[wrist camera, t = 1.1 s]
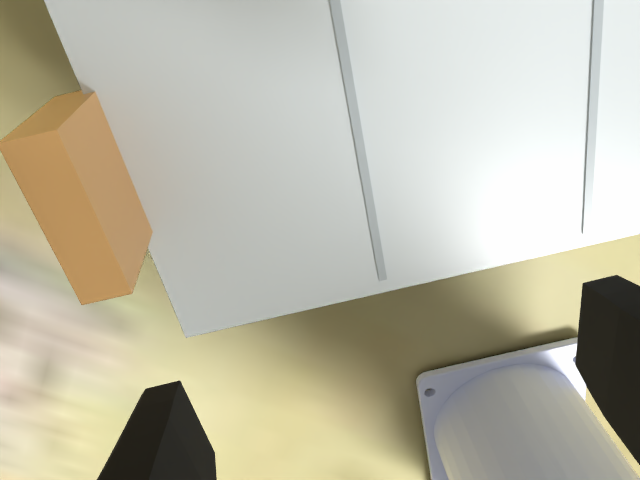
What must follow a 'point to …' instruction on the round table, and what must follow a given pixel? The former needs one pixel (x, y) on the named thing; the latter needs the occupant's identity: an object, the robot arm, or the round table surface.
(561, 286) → the round table surface
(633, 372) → the robot arm
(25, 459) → the round table surface
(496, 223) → the lid
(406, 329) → the round table surface
